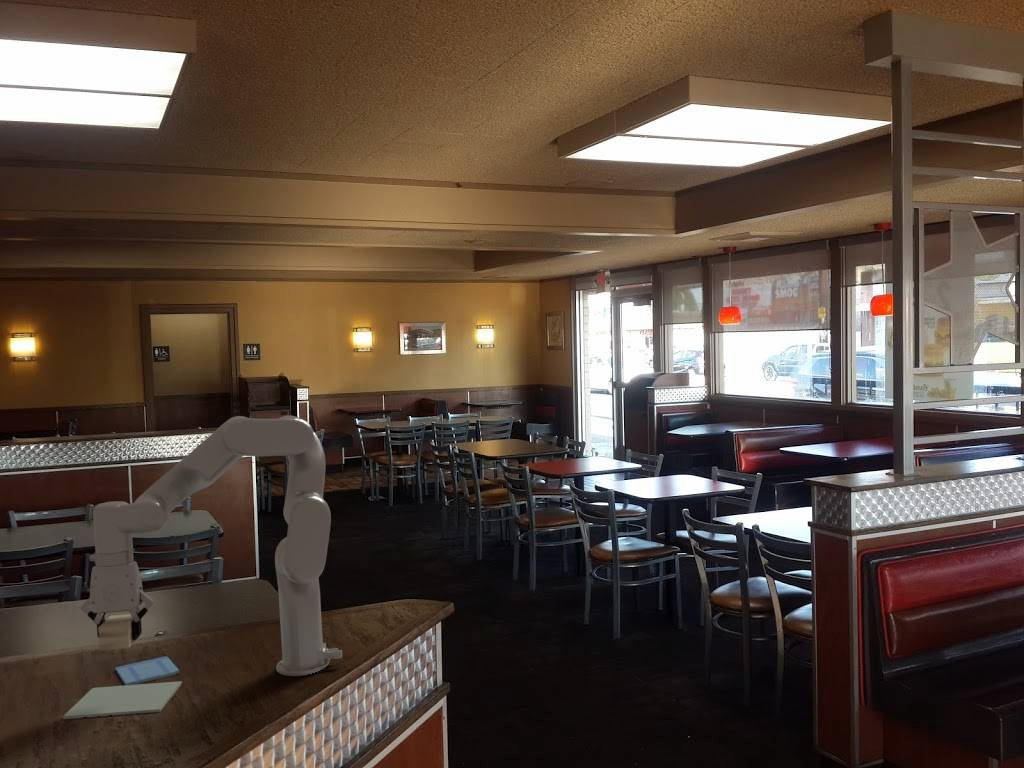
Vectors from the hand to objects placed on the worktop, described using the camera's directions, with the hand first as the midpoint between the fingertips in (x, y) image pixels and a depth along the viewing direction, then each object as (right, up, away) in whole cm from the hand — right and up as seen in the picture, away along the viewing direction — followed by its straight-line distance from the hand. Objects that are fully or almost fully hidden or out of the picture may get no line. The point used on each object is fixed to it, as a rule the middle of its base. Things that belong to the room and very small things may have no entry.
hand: (120, 638), depth 199 cm
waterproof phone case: (-2, -14, +19) cm, 23 cm away
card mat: (+1, -14, +1) cm, 14 cm away
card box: (0, -1, 0) cm, 1 cm away
